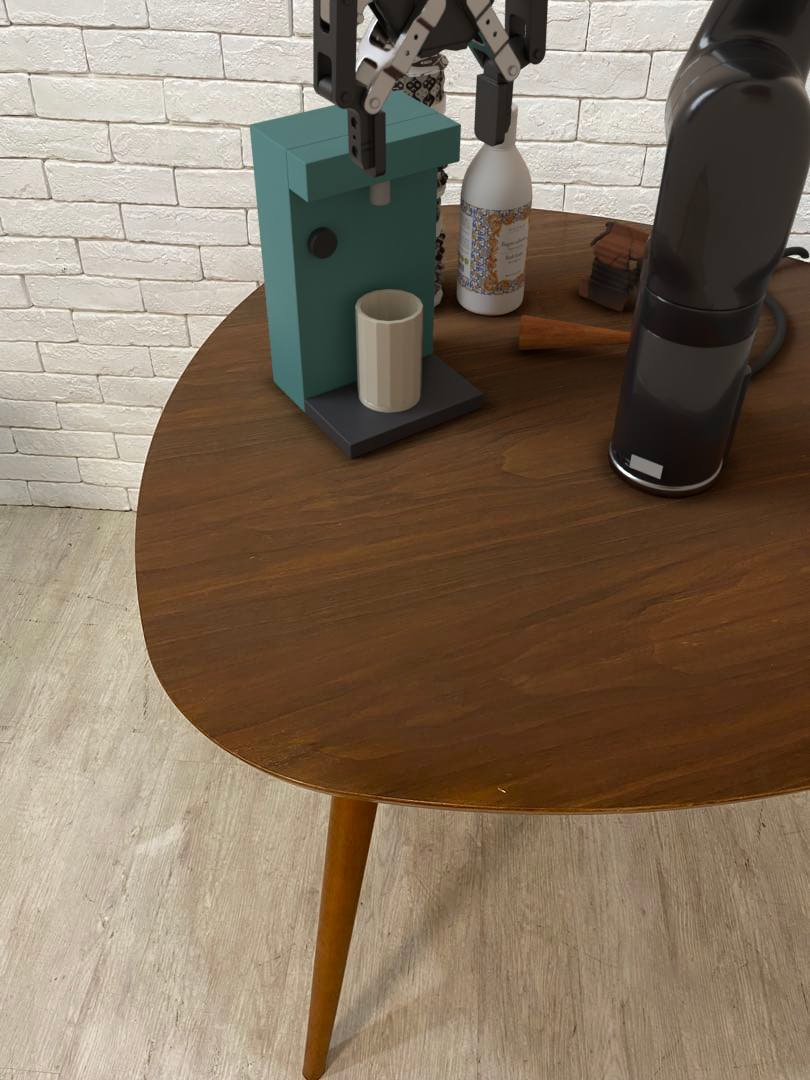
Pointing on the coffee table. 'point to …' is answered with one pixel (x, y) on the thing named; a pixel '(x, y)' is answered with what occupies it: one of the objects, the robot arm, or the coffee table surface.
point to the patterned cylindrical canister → (429, 90)
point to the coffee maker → (351, 261)
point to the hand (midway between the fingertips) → (431, 156)
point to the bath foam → (494, 228)
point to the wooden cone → (565, 334)
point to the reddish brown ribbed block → (615, 266)
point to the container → (389, 350)
